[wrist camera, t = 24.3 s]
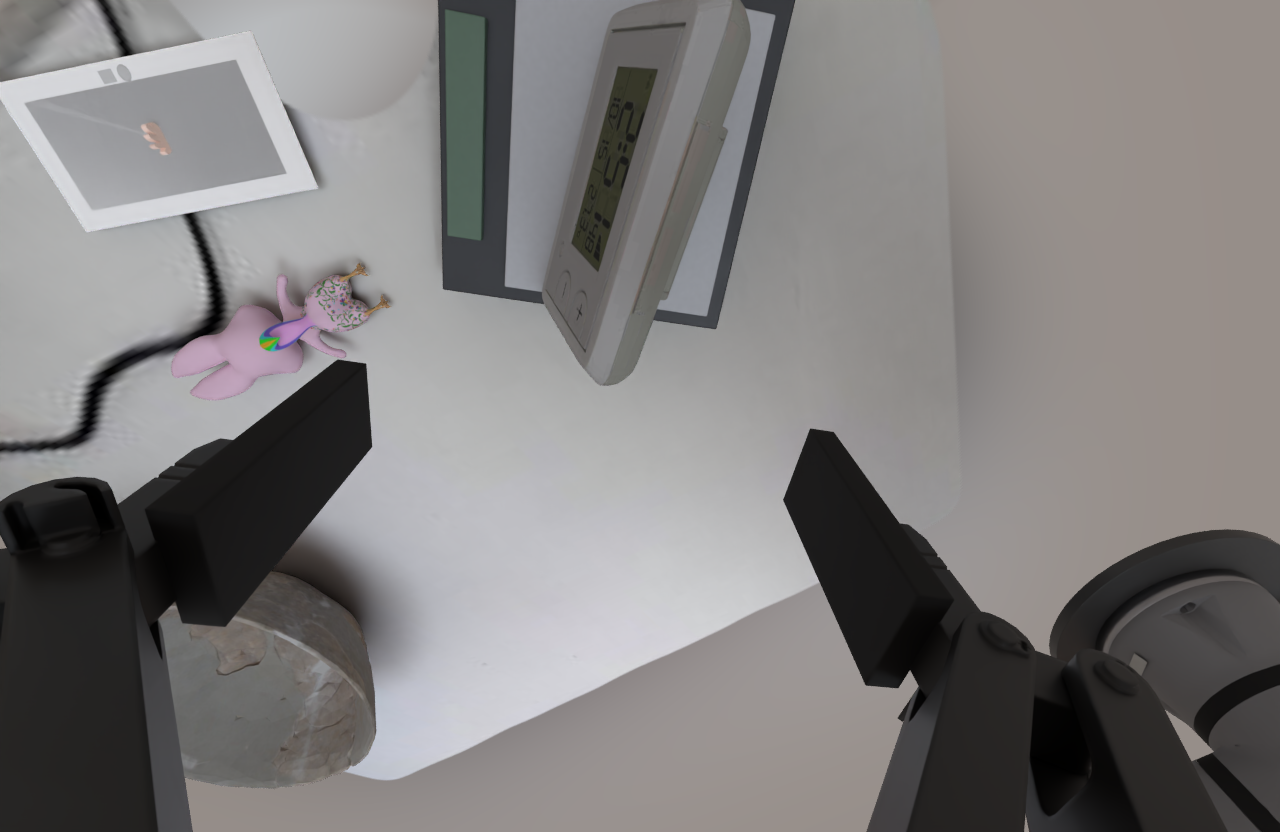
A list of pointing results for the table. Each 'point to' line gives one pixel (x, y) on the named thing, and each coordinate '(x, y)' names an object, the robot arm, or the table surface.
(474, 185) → the scale
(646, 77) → the digital clock
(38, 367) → the table surface
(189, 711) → the ceramic bowl
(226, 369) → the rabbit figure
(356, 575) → the table surface
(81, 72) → the touchpad
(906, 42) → the table surface
